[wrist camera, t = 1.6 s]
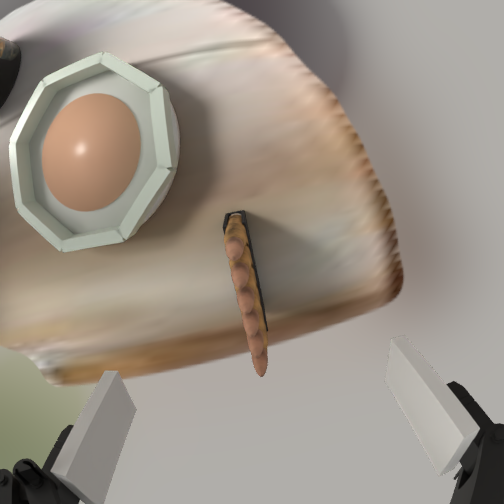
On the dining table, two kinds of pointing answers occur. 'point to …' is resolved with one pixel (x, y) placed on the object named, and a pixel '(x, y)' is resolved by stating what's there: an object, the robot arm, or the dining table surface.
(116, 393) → the robot arm
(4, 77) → the jar
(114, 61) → the octagonal tray
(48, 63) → the dining table surface
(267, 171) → the dining table surface
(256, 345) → the ammunition clip
